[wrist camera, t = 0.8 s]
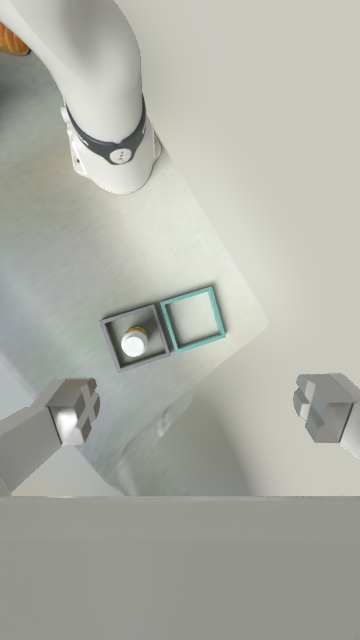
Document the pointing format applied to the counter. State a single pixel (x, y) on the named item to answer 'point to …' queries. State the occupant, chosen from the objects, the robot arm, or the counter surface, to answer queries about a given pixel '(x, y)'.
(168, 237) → the counter surface
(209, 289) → the bin
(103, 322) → the bin
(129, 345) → the supplement bottle
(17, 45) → the pastry
